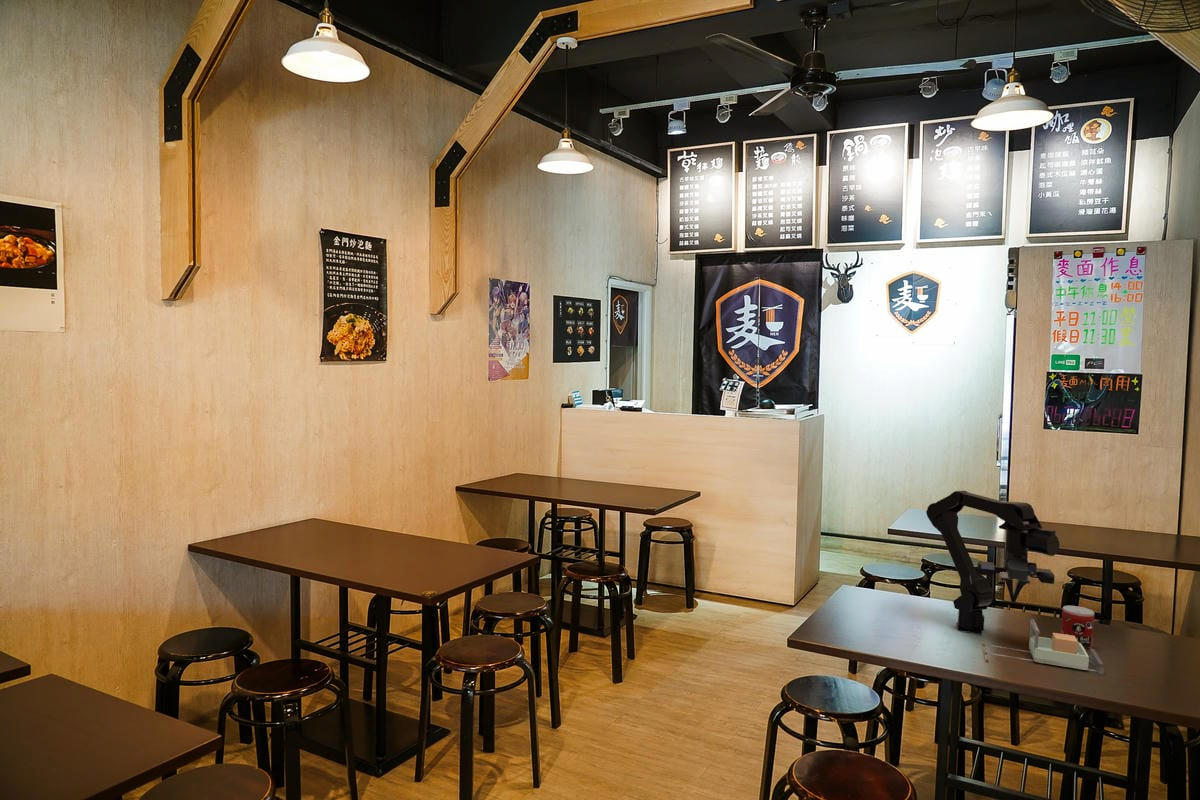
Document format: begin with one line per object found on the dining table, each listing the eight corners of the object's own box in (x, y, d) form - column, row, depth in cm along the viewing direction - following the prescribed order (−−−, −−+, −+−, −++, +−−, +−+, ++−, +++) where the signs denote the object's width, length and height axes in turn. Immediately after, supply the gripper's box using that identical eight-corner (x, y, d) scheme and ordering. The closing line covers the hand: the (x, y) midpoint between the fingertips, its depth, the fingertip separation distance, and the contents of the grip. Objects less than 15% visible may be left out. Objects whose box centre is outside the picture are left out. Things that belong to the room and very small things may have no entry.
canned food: (1060, 649, 216) (1063, 610, 216) (1059, 641, 223) (1061, 603, 223) (1093, 655, 213) (1096, 616, 212) (1090, 646, 220) (1093, 608, 219)
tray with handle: (1032, 663, 202) (1035, 630, 202) (1027, 649, 212) (1029, 617, 212) (1087, 672, 198) (1090, 638, 197) (1079, 657, 208) (1082, 625, 207)
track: (985, 662, 204) (986, 648, 204) (981, 642, 219) (982, 629, 219) (1105, 682, 194) (1106, 667, 194) (1092, 660, 209) (1093, 646, 209)
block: (1054, 657, 203) (1055, 638, 203) (1051, 650, 208) (1052, 632, 207) (1076, 660, 201) (1077, 641, 201) (1072, 654, 206) (1074, 635, 206)
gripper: (981, 549, 214) (978, 605, 214) (1059, 558, 207) (1055, 616, 207) (979, 541, 224) (975, 594, 225) (1053, 549, 217) (1049, 604, 218)
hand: (1012, 602), depth 218 cm, fingers closed
